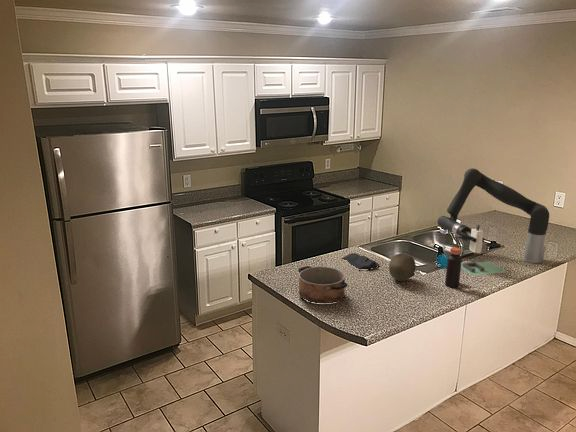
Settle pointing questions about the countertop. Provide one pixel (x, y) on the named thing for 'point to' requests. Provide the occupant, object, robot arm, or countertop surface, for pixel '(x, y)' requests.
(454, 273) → the bottle
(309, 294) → the cooking pot
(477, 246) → the plug
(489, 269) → the board
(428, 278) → the countertop surface
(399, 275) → the cantaloupe
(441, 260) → the gear
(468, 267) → the header
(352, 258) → the dark blue flat piece
